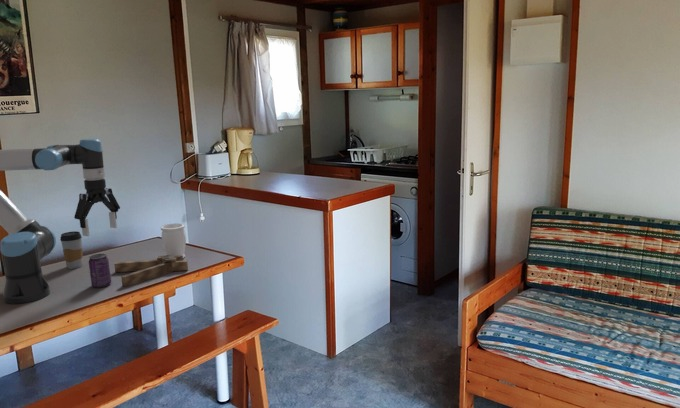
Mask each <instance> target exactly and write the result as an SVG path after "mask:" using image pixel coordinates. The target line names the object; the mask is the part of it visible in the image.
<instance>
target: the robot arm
mask: <svg viewBox="0 0 680 408" xmlns="http://www.w3.org/2000/svg"><path fill="white" fill-rule="evenodd" d="M103 152H104V151H103V148H102V141H101V140H100V139H98V138H82V139H79V144H51V145H48V146H47V147H45V148H41V147H40V148H14V149H13V148H12V149H9V148H8V149H0V172H1V171H8V172H9V171H28V170H30V171H31V170H32V171H34V170H44V171H54V170H57V169H59V168H61V167H64V166H68V165H81V166H82V173H83V174H82V175H83V177H82V178H83V179H84V180H83V183H84V189H85V190H86V192H85V193H79V194H78V196H79V199H78V202H77V207H76V210H75V213H74V219H75V220H79V225H80V226H79V227H80V228H81V232H82V233H81V235H82V236H83V237H90V229H89V220H88V218H87V217H88V215H89V213H90V211H91V209H92V207H93V206H94V205H95V204H97V203H102V204H103V205H104V206H105V207H106V208H107V209H108V210H109V212H108V217H109V228H111V229H116V228H118V227H117V217H118V216H117V213H118V212H119V210H120V209H121V206H120V205H119V202H118V201H117V199H116V197H115V195H114V194H113V190H112V188H110V187H109V188H108V187H107V183H106V179H105V176H106V175H105V166H104V157H103V156H104V155H103ZM86 218H87V219H86ZM0 226H1V227H2V229H4V231H6V232H7V233H8V235H6V236H5V237H3V238H2V239H1V240H0V253H1V259H2V265H3V270H4V275H5V276H4V277H5V284H4V288H3V292H2V299H3V302H4V303H6V304H11V305H13V304H15V305H16V304H17V305H18V304H26V303H29V302H31V303H32V302H33V301H34V302H35V301H37V300H41V299H44V298H45V297H47V296H48V295H49V294H50V293H51V289H50V284H49V283H48V281H47V280H46V278H45V276H44V274H43V271H42V264H41V260H42V259H44V258H45V257H47V256H48V255H49V254H51V253H52V251H53V250H54V249H55V247H56V243H57V238H56V234H55V233H54V231H53V230H52V229H51V228H49V227H48V226H43V225H41V224H40V223H39V222H38V221H37V220H36V219H31V218H28V217H27V215H25V214H24V213H23V211H22V210H21V209H19V208H18V206H16V204H15V203H14V202H13V201H12V199H10V197H8V196H7V195H6V194H5V193H4V191H2V189H0Z"/></svg>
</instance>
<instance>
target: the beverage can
mask: <svg viewBox="0 0 680 408" xmlns="http://www.w3.org/2000/svg"><path fill="white" fill-rule="evenodd" d="M88 258H89V259H88V267H89V275H90V282H91V283H90V284H91V287H94V288H104V287H107V286H108V285H110V284H112V276H111V268H110V259H109V258H108V257H107V253H97V254H93V255H90V256H89V257H88Z"/></svg>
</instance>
